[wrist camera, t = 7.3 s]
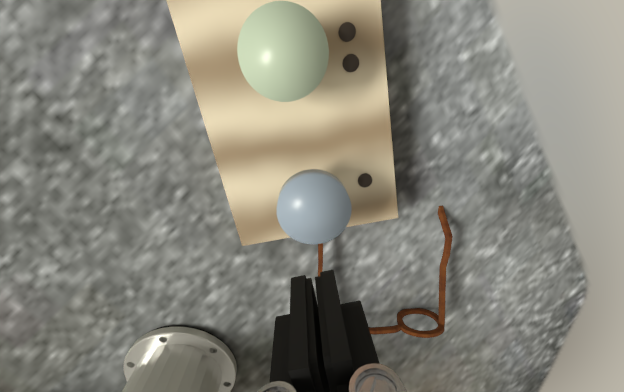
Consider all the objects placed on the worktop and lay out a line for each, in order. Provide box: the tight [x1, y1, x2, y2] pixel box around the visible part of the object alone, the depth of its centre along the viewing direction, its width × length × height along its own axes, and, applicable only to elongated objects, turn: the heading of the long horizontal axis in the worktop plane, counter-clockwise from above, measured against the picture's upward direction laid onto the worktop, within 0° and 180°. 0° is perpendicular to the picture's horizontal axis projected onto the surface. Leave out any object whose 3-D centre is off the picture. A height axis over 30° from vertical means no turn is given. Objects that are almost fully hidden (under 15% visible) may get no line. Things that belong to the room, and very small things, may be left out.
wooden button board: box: [167, 0, 398, 246], centre depth 21 cm, size 28×14×4 cm, turn 10°
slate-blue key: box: [277, 169, 352, 244], centre depth 21 cm, size 5×5×2 cm
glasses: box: [318, 206, 452, 338], centre depth 29 cm, size 13×13×5 cm
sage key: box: [237, 1, 329, 102], centre depth 17 cm, size 5×5×2 cm
